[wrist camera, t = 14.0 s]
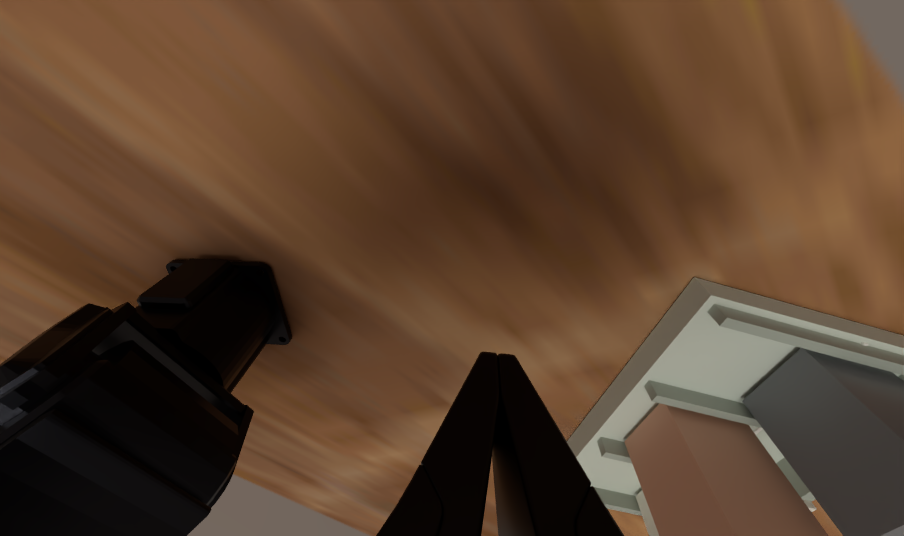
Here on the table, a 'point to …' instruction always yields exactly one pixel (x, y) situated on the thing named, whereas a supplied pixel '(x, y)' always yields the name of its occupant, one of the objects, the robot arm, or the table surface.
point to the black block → (840, 437)
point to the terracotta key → (713, 479)
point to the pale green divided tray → (714, 374)
